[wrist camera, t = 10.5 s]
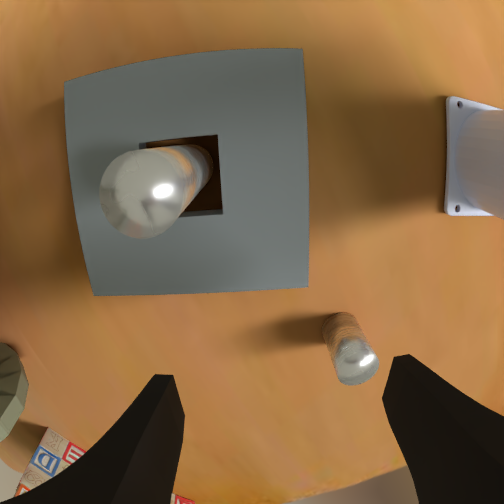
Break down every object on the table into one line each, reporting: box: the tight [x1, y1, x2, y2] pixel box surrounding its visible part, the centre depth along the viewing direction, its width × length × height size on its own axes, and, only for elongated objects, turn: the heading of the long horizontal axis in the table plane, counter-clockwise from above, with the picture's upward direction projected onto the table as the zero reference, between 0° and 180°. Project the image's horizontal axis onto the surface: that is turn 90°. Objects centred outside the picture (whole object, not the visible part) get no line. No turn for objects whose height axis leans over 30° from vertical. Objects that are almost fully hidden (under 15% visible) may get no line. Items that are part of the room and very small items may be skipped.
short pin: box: [322, 312, 379, 385], centre depth 19 cm, size 3×3×4 cm
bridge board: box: [64, 48, 309, 296], centre depth 16 cm, size 12×12×3 cm
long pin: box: [99, 144, 213, 239], centre depth 13 cm, size 3×3×9 cm
